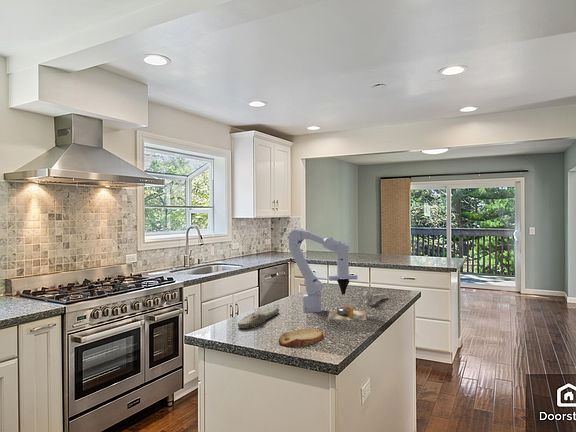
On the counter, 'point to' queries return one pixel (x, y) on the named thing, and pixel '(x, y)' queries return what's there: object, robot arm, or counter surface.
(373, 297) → the wrench
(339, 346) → the counter surface
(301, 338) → the bread slice
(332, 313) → the panel
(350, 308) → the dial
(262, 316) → the elongated rock
